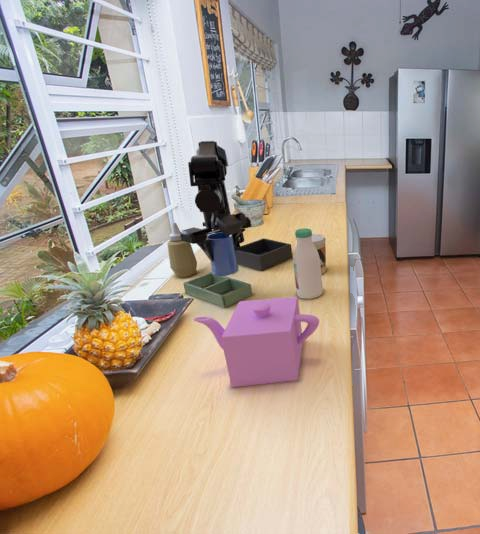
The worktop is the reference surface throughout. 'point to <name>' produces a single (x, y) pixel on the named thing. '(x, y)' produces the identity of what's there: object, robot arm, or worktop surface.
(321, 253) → the coffee cup
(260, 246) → the black square tray
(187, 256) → the squeeze bottle
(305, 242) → the milk bottle
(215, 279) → the divided tray
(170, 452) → the worktop surface
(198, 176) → the robot arm
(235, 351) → the teapot
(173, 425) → the worktop surface
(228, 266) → the blue cup
